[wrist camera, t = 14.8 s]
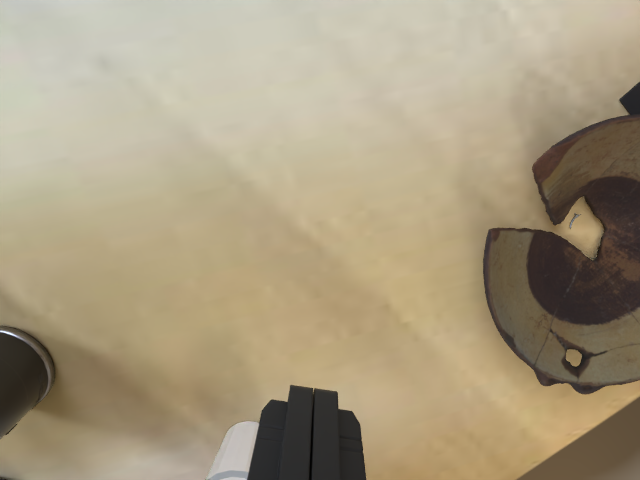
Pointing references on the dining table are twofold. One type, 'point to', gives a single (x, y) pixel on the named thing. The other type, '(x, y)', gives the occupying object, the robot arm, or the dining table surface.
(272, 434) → the robot arm
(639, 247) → the broken ceramic bowl
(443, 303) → the dining table surface
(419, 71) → the dining table surface
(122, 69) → the dining table surface
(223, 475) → the white banded cylinder
